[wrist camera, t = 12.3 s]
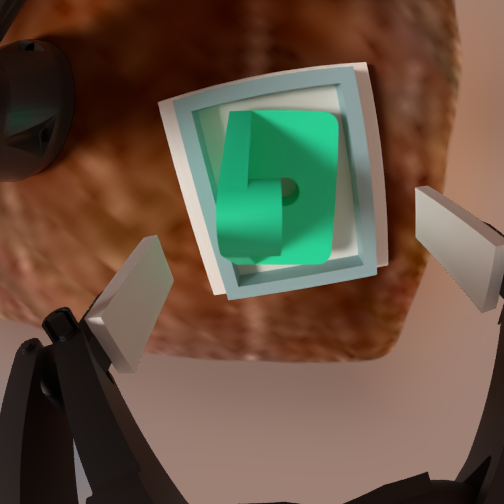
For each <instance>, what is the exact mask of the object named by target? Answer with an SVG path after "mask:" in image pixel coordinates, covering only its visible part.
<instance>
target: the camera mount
mask: <svg viewBox="0 0 504 504" xmlns="http://www.w3.org/2000/svg"><path fill="white" fill-rule="evenodd" d="M338 131H339V126H338V122H337V119H336V118H335V117H334V116H333V115H332V114H330V113H328V112H323V111H299V110H248V111H229V117H228V123H227V130H226V136H225V143H224V149H223V156H222V163H221V170H220V177H219V184H218V191H217V202H216V230H217V241H218V247H219V251H220V254H221V256H222V257H224V258H226V259H228V260H229V261H231V262H233V263H234V264H236V265H318V264H322V263H324V262H326V261H327V260H328V259H329V258H330V256H331V250H332V239H333V227H334V215H335V200H336V184H337V163H338ZM280 178H290V179H292V180H294V181H295V182H296V183H297V185H296V189H295V190H294V192H293V193H292V194H290V195H288V196H284V197H282V191H281V179H280Z"/></svg>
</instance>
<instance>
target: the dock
mask: <svg viewBox="0 0 504 504" xmlns="http://www.w3.org/2000/svg"><path fill="white" fill-rule="evenodd" d="M158 105H159V109H160V113H161V117H162V121H163V125H164V129H165V133H166V136H167V140H168V144H169V148H170V151H171V155H172V159H173V162H174V166H175V169H176V173H177V177H178V180H179V184H180V187H181V191H182V194H183V197H184V201H185V204H186V208H187V211H188V214H189V218H190V221H191V224H192V227H193V231H194V234H195V237H196V240H197V244H198V247H199V250H200V253H201V256H202V259H203V263H204V266H205V269H206V272H207V275H208V278H209V281H210V284H211V287H212V290H213V293H214V295H218V294H225V293H226V294H227V297H228V300H233V299H240V298H247V297H253V296H260V295H266V294H272V293H278V292H284V291H290V290H296V289H302V288H308V287H314V286H319V285H325V284H330V283H336V282H341V281H347V280H352V279H357V278H362V277H368V276H373V275H377V267H381V266H386V265H388V231H387V209H386V194H385V182H384V171H383V161H382V152H381V144H380V137H379V129H378V123H377V116H376V110H375V104H374V98H373V93H372V88H371V83H370V78H369V73H368V68H367V64H366V62H362V63H347V64H335V65H325V66H316V67H308V68H301V69H294V70H287V71H281V72H275V73H269V74H264V75H259V76H254V77H249V78H244V79H240V80H235V81H231V82H227V83H223V84H218V85H215V86H211V87H207V88H203V89H200V90H196V91H192V92H189V93H186V94H182V95H179V96H176V97H173V98H169V99H166V100H163V101H160V102H158ZM248 110H299V111H323V112H328V113H330V114H332V115H333V116H334V117H335V118H336V119H337V122H338V126H339V131H338V163H337V184H336V200H335V215H334V227H333V239H332V250H331V256H330V258H329V259H328V260H327V261H326V262H324V263H322V264H318V265H236V264H234V263H233V262H231V261H229V260H228V259H226V258H224V257H222V256H221V254H220V251H219V247H218V241H217V230H216V202H217V191H218V184H219V177H220V170H221V163H222V156H223V149H224V143H225V136H226V130H227V123H228V117H229V111H248ZM280 179H281V191H282V197H284V196H288V195H290V194H292V193H293V192H294V190H295V189H296V185H297V183H296V182H295V181H294V180H292V179H290V178H280Z"/></svg>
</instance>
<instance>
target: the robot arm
mask: <svg viewBox="0 0 504 504" xmlns="http://www.w3.org/2000/svg"><path fill="white" fill-rule="evenodd" d="M27 1H28V0H0V42H1V41H2V39H3V37H4V36H5V34H6V32H7V31H8V29H9V28H10V26H11V25H12V23H13V22H14V20H15V19H16V17H17V16H18V14H19V13H20V11H21V10H22V8H23V7H24V6H25V4H26V3H27ZM74 100H75V91H74V80H73V75H72V71H71V68H70V65H69V63H68V61H67V59H66V57H65V55H64V54H63V53H62V52H61V51H60V49H58V48H57V47H56V46H55V45H53V44H51V43H49V42H45V41H39V40H31V39H26V40H19V41H16V42H13V43H10V44H7V45H4V46H1V47H0V182H16V181H20V180H23V179H26V178H28V177H31V176H33V175H35V174H37V173H39V172H41V171H42V170H44V169H45V168H46V167H48V166H49V165H50V164H51V162H52V161H53V160H54V159H55V158H56V156H57V155H58V153H59V152H60V150H61V148H62V146H63V144H64V142H65V140H66V138H67V135H68V132H69V129H70V125H71V122H72V117H73V111H74ZM415 201H416V238H417V239H418V240H419V241H420V242H421V244H422V245H423V246H424V247H425V248H426V249H427V250H428V251H429V252H430V253H431V254H432V255H433V256H434V257H435V259H436V260H437V261H438V262H439V263H440V264H441V265H442V266H443V267H444V268H445V270H446V271H447V272H448V273H449V274H450V275H451V277H452V278H453V279H454V280H455V281H456V282H457V284H458V285H459V286H460V287H461V288H462V289H463V291H464V292H465V293H466V294H467V295H468V297H469V298H470V299H471V300H472V302H473V303H474V304H475V305H476V307H477V308H478V309H479V310H480V312H481V313H484V312H487V311H489V310H492V309H495V308H496V306H497V302H498V298H499V295H501V297H502V298H503V299H504V235H502V233H501V232H499V231H498V230H497V229H495V228H494V227H492V226H491V225H490V224H488V223H485V222H483V221H481V220H479V219H478V218H476V217H475V216H473V215H472V214H471V213H469V212H468V211H466V210H465V209H463V208H462V207H460V206H459V205H457V204H456V203H454V202H453V201H451V200H450V199H448V198H447V197H445V196H444V195H442V194H440V193H439V192H437V191H436V190H434V189H432V188H431V187H429V186H421V187H415ZM173 282H174V279H173V277H172V274H171V271H170V269H169V266H168V264H167V261H166V258H165V256H164V253H163V250H162V247H161V245H160V242H159V239H158V236H157V235H154V236H149V237H145V238H143V239H142V241H141V242H140V243H139V245H138V246H137V247H136V248H135V250H134V251H133V252H132V253H131V255H130V256H129V257H128V259H127V260H126V261H125V263H124V264H123V265H122V267H121V268H120V269H119V271H118V272H117V273H116V275H115V276H114V277H113V279H112V280H111V281H110V283H109V284H108V285H107V287H106V288H105V290H104V291H102V292H101V293H100V294H99V295H98V296H97V297H96V299H95V300H94V302H93V304H91V306H90V307H89V310H87V311H86V313H85V314H84V316H83V317H82V319H81V320H80V322H79V323H78V322H77V321H76V319H75V317H74V315H73V314H72V312H71V310H70V309H69V308H68V307H63V308H59V309H57V310H55V311H53V312H52V313H50V314H49V315H48V316H47V317H46V318H45V319H44V321H43V323H42V327H43V329H44V330H45V332H46V333H47V334H48V336H49V338H50V339H51V341H52V342H53V344H52V345H48V346H45V347H43V345H42V343H41V342H40V341H39V339H38V338H32V339H29V340H27V341H25V342H24V343H22V344H21V347H19V349H18V350H17V352H16V355H15V358H14V362H13V365H12V368H11V372H10V376H9V379H8V383H7V387H6V391H5V395H4V399H3V403H2V408H1V413H0V504H79V503H78V495H77V487H76V477H75V465H74V448H73V438H74V442H75V445H76V448H77V451H78V454H79V457H80V460H81V463H82V466H83V469H84V471H85V474H86V476H87V479H88V482H89V484H90V487H91V490H92V493H93V494H92V496H90V497H88V498H87V499H86V504H188V502H187V501H186V500H185V499H184V497H183V496H182V494H181V493H180V492H179V490H178V489H177V487H176V486H175V484H174V483H173V482H172V480H171V479H170V477H169V476H168V474H167V473H166V471H165V470H164V468H163V467H162V465H161V464H160V462H159V460H158V459H157V457H156V456H155V454H154V453H153V451H152V449H151V448H150V446H149V444H148V443H147V441H146V439H145V437H144V436H143V434H142V432H141V431H140V429H139V427H138V425H137V424H136V422H135V420H134V418H133V416H132V414H131V412H130V411H129V409H128V407H127V405H126V403H125V401H124V399H123V397H122V395H121V393H120V391H119V389H118V387H117V385H116V382H115V380H114V378H113V376H112V375H111V373H110V372H109V370H108V369H109V367H110V365H111V363H112V364H113V365H114V367H115V368H116V370H117V371H118V373H135V371H136V369H137V366H138V364H139V361H140V358H141V356H142V354H143V351H144V349H145V347H146V344H147V342H148V339H149V337H150V335H151V332H152V330H153V327H154V325H155V323H156V320H157V318H158V316H159V313H160V311H161V309H162V307H163V304H164V302H165V300H166V297H167V295H168V293H169V291H170V289H171V286H172V284H173ZM500 323H501V326H500V334H499V341H498V348H497V354H496V359H495V365H494V369H493V374H492V379H491V383H490V388H489V392H488V396H487V400H486V403H485V407H484V411H483V414H482V417H481V421H480V424H479V427H478V430H477V433H476V436H475V440H474V442H473V445H472V448H471V450H470V453H469V456H468V458H467V460H466V462H465V464H464V466H463V468H462V469H461V471H460V472H459V474H458V476H457V478H456V480H455V481H450V480H430V478H429V475H428V472H425V473H422V474H419V475H416V476H413V477H410V478H407V479H404V480H400V481H397V482H393V483H390V484H386V485H383V486H381V487H379V488H377V489H375V490H373V491H371V492H369V493H367V494H364V495H362V496H360V497H358V498H356V499H353V500H351V501H349V502H346V503H344V504H504V305H503V308H502V311H501V315H500V318H499V321H498V324H500ZM43 392H44V393H43ZM251 504H298V503H289V502H275V503H251Z"/></svg>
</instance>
